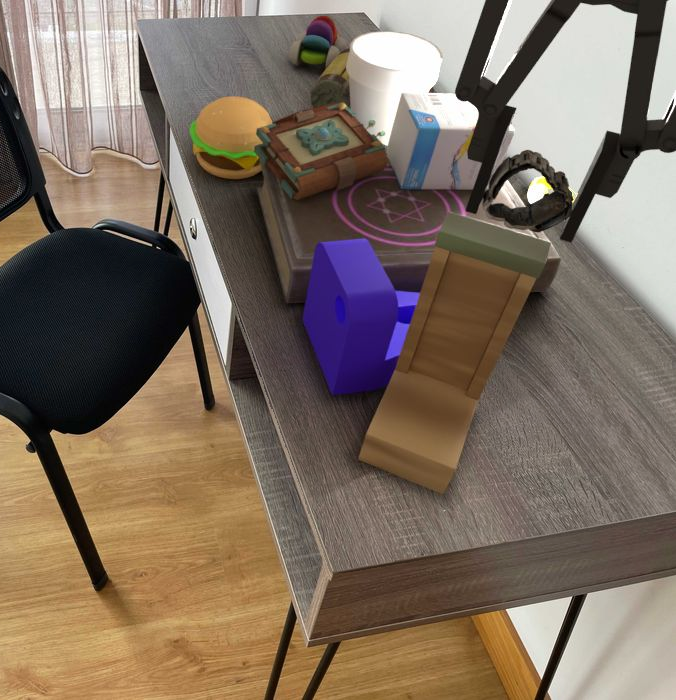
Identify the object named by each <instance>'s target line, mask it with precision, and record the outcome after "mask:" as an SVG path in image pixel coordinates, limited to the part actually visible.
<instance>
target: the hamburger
mask: <svg viewBox="0 0 676 700" xmlns="http://www.w3.org/2000/svg"><path fill="white" fill-rule="evenodd" d="M270 124H273V119H272V117H271V116H270V114H269V112H268V111H267V109H266V108H265V107H263V106H262V104H261V105H260V104H259V103H258V102H256V101H255V100H253V99H250V98H248V97H244V96H236V95H235V96H234V95H232V96H224V97H220V98H218V99H216V100H214V101H212V102H210V103H209V104H207V105H205V106H204V107H203V109H202V110H201V111H200V113H199V115H198V116H197V119H195V120H194V121H192V122H191V124H190V127H189V135H190V138H191V141H192V143H193V144H192V152H193V154H194V156H196V159H197V162H198V163H199V165H200V166H201V167H202V168H203V169H204V171H206V172H207V173H209V174H210V175H213V176H214V177H219V178H221V179H226V180H227V179H230V180H242V179H248V178H251V177H253V176H256V175H258V174H259V173H261V172H262V169H261V165H260V159H259V157H258V156H257V155H256V154H255V152H254V147H255V146H256V145H259V144H262V143H263V142H262V141H261V140H260V139H259V137H258V136H257V135H256V132H257V128H260V127H264V126H267V125H270Z"/></svg>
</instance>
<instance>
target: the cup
mask: <svg viewBox="0 0 676 700" xmlns="http://www.w3.org/2000/svg"><path fill="white" fill-rule="evenodd" d="M349 48H350V52H349V56H348V60H347V64H346V70H347V72H348V74H349V89H350V106H349V108H350V109H351V111H352V112H353V113H354V114H355V118H356V119H357V120H358V121H359V122H360V123H361V124H363V127H364V128H365V129H366V128H367V127H368V126H369V120H374V121H375V122H376V123H375V125H374V126H373V127H369V128H367V131H368V132H369V133H370V134H371V135H373V134H374V135H375V136H376V135H377V134H378V133H379V132H381V131H384V132H385V133H386V134H385V135H384V136H377V139H378V140H379V141H380V142H381V143H382V144H384V145H387V146H388V142H389V138H390V134H391V130H392V126H393V123H394V119H395V115H396V111H397V107H398V104H399V100H400V96H401V93H428V91H429V89H430V88H431V87H432V86H433V87H434V85H436V84H437V81H438V78H439V74H440V69H441V63H442V61H443V59H444V58H443V52H442V51H441V50H440V48H439V47H438V46H437V45H436V44H434V43H433V42H432V41H430V40H427V39H426V38H423V37H421V36H418V35H414V34H412V33H406V32H401V31H393V30H384V31H383V30H377V31H370V32H366V33H362V34H359V35H358V36H357V37H355V38H354V39H352V41H351V42H350V43H349Z"/></svg>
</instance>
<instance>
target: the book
mask: <svg viewBox="0 0 676 700" xmlns="http://www.w3.org/2000/svg"><path fill="white" fill-rule="evenodd" d="M260 165H261V169H262V171H261V172H262V176H263V184H262V187H257V188H256V192H257V197H258V200H259V204H260V209H261V213H262V216H263V218H264V224H265V227H266V231H267V235H268V239H269V242H270V246H271V250H272V254H273V257H274V258H273V259H274V262H275V265H276V270H277V273H278V277H279V281H280V285H281V290H282V293H283V296H284V300H285V303H286V304H299V303H300V304H301V303H306V297H307V292H308V286H309V281H310V275H311V269H312V264H313V258H314V252H315V248H316V245H317V244H318V243H321V242H332V241H343V240H354V239H367V240H368V241H369V243H370V245H371V247H372V249H373V250H374V252H375V254H376V256H377V258H378V260H379V261H380V263H381V265H382V267H383V269H384V271H385V272H386V274H387V276H388V278H389V280H390V282H391V283H392V285H393V287H394V289H395V291H404V292H415V293H420V292H421V289H422V286H423V283H424V280H425V277H426V274H427V271H428V268H429V265H430V262H431V258H432V255H433V252H434V249H435V246H434V245H435V242H436V239H437V235H438V232H439V230H440V228H441V226H442V224H443V222H444V220H445V217H446V215H447V213H448V212H453V213H456V214H459V215H463V216H466V217H469V218H473V219H476V220H479V221H483V222H486V223H489V224H493V225H496V226H499V227H503V228H506V229H510V228H507V227H506V226H505V225H504V221H497V220H494V219H489V218H488V217H487V216H486V214H485V211H484V210H483V206H482V203H483V200H482V202H481V205H480V207H479V209H478V211H477V214H473V213H470V212H467V211H465V210H466V207H467V204H468V201H469V199H470V196H471V193H472V190H446V189H401V188H400V186H399V183H398V180H397V178H396V176H395V173H394V170H393V168H392V166H391V163H390V160H389V158H388V156H387V165H386V167H385V169H384V170H383V171H380V172H378V173H375V174H372V175H369V176H366V177H363V178H360V179H357V180H354V182H353V185H351V186H349V187H346V188H343V189H340V190H337V191H334V190H331V189H328V190H325V191H322V192H320V193H317V194H314V195H311V196H308V197H305V198H302V199H299V200H296V199H291V198H290V197H289V196H288V194H287V193H286V192H285V190H284V189H283V188H282V187H281V182H280V181H279V180H278V178H277V177H276V176H275V174H274V173H273V172H272V171H271V169H270V168H269V167H268V166H267V164H266V165H264V164H263V163H262V161H261V160H260ZM486 191H487V190H486ZM495 203H504V204H505V205H506V206H508V207H509V208H511V209H513V208H518V207H526V206H527V205H525V203H524V202H523V200H522V199H521V198H520V196H519V194H518V193H517V191H516V190H515V189H514V187H513V186H512V185H511V183H510V181H509V179H508V180H507V181H506V182H505V183H504V185H503V186H502V188H501V190H500V191H499V194H498V195H497V197H496V199H494V200H493V202H492V203H491V204H492V205H493V204H495ZM510 230H513V231H516V232H520V233H523V234H526V235H530V236H533V237H536V238H540V239H543V240H546V241H550V239H549V238H548V237H547V235H546V234H545V233H544V231H541V232H533V231H530V230H529V229H526V230H520V229H515V228H512V229H510ZM561 260H562V257H561V255H560V254H559V253H558V251H557V250H556V248H555V247H554V245H553V244H552V243H551V247H550V250H549V254H548V257H547V261H546V264H545V266H544V268H543V270H542V272H541V274H540V277H539V278H538V279H537V278H536V280H535V282H534V285H533V287H532V289H531V291H530V293H538V292H539V293H541V292H546V291H547V290H548V288H550V286H551V285H552V284H553V282H554V281H555V278H556V276H557V274H558V272H559V268H560V265H561Z"/></svg>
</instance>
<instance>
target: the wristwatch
mask: <svg viewBox="0 0 676 700" xmlns="http://www.w3.org/2000/svg"><path fill="white" fill-rule="evenodd" d="M533 169H534V170H535V171H537V172H538V173H540V174H541V177H544V178H545V180H546V183H547V184H549V185H550V186H551V188H552V189H553V190H552V192H550V193H549V192H548V193H546V194H544V195H543V198H541V199H539V200H538V201H536V202H534V203H529V204H527V205H525V206H526V207H518V208H513V209H511V208H509V207H508V206H506V205H505V204H504V203H495V204H493V205H492V204H491V203H492V202H493V200H494V199H496V197H497V195H498V194H499V191H500V190H501V188H502V186H503V185H504V183H505V182H506V181H507V180H508V181H509V179H511V178H512V177H513V176H514V175H517V174H519V173H521V172H524V171H528V170H533ZM556 186H557V187H556ZM569 188H570V184H569V180H568V178H567V176H566V173H565V172H564V171H562V170H561V171H560V170H559V171H556V170H555V168H554V167H553V166H551V165H550V162H549V160H548V159H547V158H546V157H543V155H542V154H541V152H537V151H533V150H530V149H524V150H523V151H521V152H520V153H519V154H518V153H517V154H514V155H512V156H507V157H505V158H504V159H503V162H502V163H501V164H500V165H499V167H498V168H497V169H496V171H495V172H494V174H493V175H492V178H491V180H490V182H489V190H487V191H486V192H485V194H484V196H483V203H482V206H483V210H484V211H485V214H486V216H487V217H488V218H489V219H494V220H497V221H504V225H505V226H506V227H507V228H510V229H512V228H515V229H520V230H526V229H529V230H530V231H533V232H541V231H543V232H544V231H547V230H549V229H551V228H553V227H555V226H557V225H559V224H560V223H562V222H563V221H564V222H565V219H566V218H568V217H569V216H570V214H571V211H572V202H573V201H574V198H573V192H574V191H573V190H572V189H571V188H570V189H571V190H572V191H573V192H572V191H571V190H570V189H569Z"/></svg>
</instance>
